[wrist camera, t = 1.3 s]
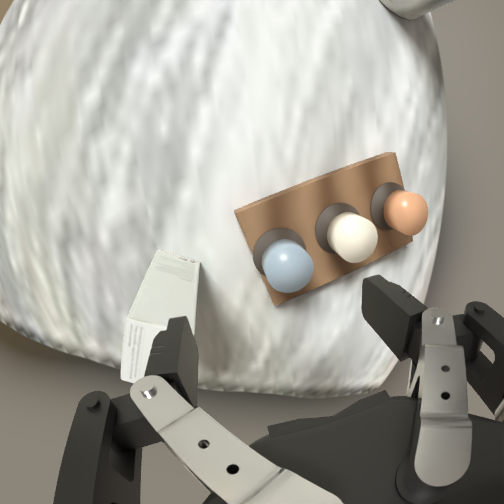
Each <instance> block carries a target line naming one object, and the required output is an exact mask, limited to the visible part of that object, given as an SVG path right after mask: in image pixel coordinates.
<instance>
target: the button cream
mask: <svg viewBox="0 0 504 504" xmlns="http://www.w3.org/2000/svg"><path fill="white" fill-rule="evenodd" d="M327 240H328V243H329V245H330V247H331V248H332V249H333V250H334V251H335V252H336V253H337V254H339V255H340V256H341V257H342V258H343V259H344V260H346V261H348V262H350V263H359V262H362V261H364V260H366V259H367V258H368V257H369V256H370V255H371V254H372V253H373V251H374V250H375V247H376V245H377V240H378V234H377V230H376V227H375V226H374V224H373V223H372V222H371V221H369V220H367V219H365V218H363V217H361V216H359V215H357V214H355V213H352V212H345V213H341V214H339V215H338V216H336V217H335V218H334V219H333V220H332V222H331V223H330V225H329V227H328V231H327Z"/></svg>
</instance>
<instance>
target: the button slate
mask: <svg viewBox="0 0 504 504" xmlns="http://www.w3.org/2000/svg"><path fill="white" fill-rule="evenodd" d="M262 267H263V270H264V272H265V275H266V277H267V280H268V282H269V284H270V285H271V286H272V287H273V288H274V289H275V290H277V291H280V292H283V293H292V292H296V291H298V290H300V289H302V288H303V287H305V286H306V285H307V284H308V282H309V281H310V279H311V278H312V275H313V271H314V264H313V261H312V258H311V257H310V255H309V254H308V253H307V252H306V251H305V250H304V249H303V248H302V246H301V245H300V244H299V243H297V242H296V241H294V240H291V239H280V240H277V241H275V242H273V243H272V244H270V245H269V246H268V247H267V248H266V250H265V251H264V253H263V256H262Z"/></svg>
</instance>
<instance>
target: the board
mask: <svg viewBox="0 0 504 504" xmlns="http://www.w3.org/2000/svg"><path fill="white" fill-rule="evenodd" d="M396 190H404V186H403V182H402V177H401V173H400V169H399V165H398V161H397V157H396V153H392V152H386V153H383V154H380V155H377V156H374V157H372V158H369V159H366V160H363V161H360V162H357V163H354V164H352V165H349V166H346V167H343V168H341V169H338V170H335V171H332V172H330V173H327V174H324V175H322V176H319V177H316V178H314V179H311V180H308V181H306V182H303V183H301V184H298V185H295V186H293V187H290V188H288V189H285V190H283V191H280V192H278V193H275V194H273V195H270V196H268V197H265V198H263V199H260V200H258V201H256V202H253V203H251V204H248V205H246V206H244V207H241V208H239V209H236V210H234V212H235V215H236V217H237V220H238V222H239V224H240V227H241V229H242V231H243V234H244V236H245V238H246V241H247V243H248V245H249V248H250V250H251V252H252V255H253V260H254V263H255V266H256V268H257V269H258V271H259V272H260V273H261V275H262V278H263V280H264V282H265V285H266V287H267V289H268V292H269V294H270V296H271V299H272V301H273V303H274V306H276V305H278V304H281V303H283V302H285V301H288V300H290V299H292V298H295V297H297V296H299V295H302V294H304V293H306V292H308V291H311V290H313V289H315V288H317V287H320V286H322V285H324V284H326V283H328V282H331V281H333V280H335V279H337V278H339V277H341V276H344V275H346V274H348V273H350V272H352V271H354V270H356V269H358V268H360V267H363V266H365V265H367V264H369V263H371V262H373V261H375V260H377V259H379V258H381V257H383V256H385V255H387V254H389V253H391V252H393V251H395V250H397V249H399V248H401V247H402V246H404V245H406V244H408V243H410V242H412V241H413V238H412V236H408V235H405V234H403V233H401V232H399V231H397V230H395V229H393V228H391V227H390V226H389V225H388V224H387V223H386V221H385V218H384V205H385V202H386V200H387V198H388V196H389V195H390V194H391V193H392V192H394V191H396ZM404 191H405V190H404ZM345 212H352V213H355V214H357V215H359V216H361V217H363V218H365V219H367V220H369V221H371V222H372V223H373V224H374V226H375V227H376V230H377V234H378V240H377V245H376V247H375V250H374V251H373V253H372V254H371V255H370V256H369V257H368V258H367V259H366V260H364V261H362V262H359V263H350V262H348V261H346V260H344V259H343V258H342V257H341V256H340V255H339V254H337V253H336V252H335V251H334V250H333V249H332V248H331V247H330V245H329V243H328V240H327V231H328V227H329V225H330V223H331V222H332V220H333V219H334V218H335V217H336V216H338V215H339V214H341V213H345ZM280 239H291V240H294V241H296V242H297V243H299V244H300V245H301V246H302V248H303V249H304V250H305V251H306V252H307V253H308V254H309V255H310V257H311V258H312V261H313V264H314V271H313V275H312V278H311V279H310V281H309V282H308V284H307V285H306V286H305V287H303V288H302V289H300V290H298V291H296V292H292V293H283V292H280V291H277V290H275V289H274V288H273V287H272V286H271V285H270V284H269V282H268V280H267V277H266V275H265V272H264V270H263V267H262V256H263V253H264V251H265V250H266V248H267V247H268V246H269V245H270V244H272V243H273V242H275V241H277V240H280Z"/></svg>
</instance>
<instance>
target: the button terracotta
mask: <svg viewBox="0 0 504 504" xmlns="http://www.w3.org/2000/svg"><path fill="white" fill-rule="evenodd" d="M427 217H428V207H427V203H426V201H425V200H424V198H423V197H422V196H420V195H418V194H415V193H411V192H407V191H404V190H396V191H394V192H392V193H391V194H390V195H389V196H388V198H387V200H386V202H385V205H384V218H385V221H386V223H387V224H388V225H389V226H390V227H391V228H393V229H395V230H397V231H399V232H401V233H403V234H405V235H408V236H413V235H416V234H418V233H419V232H420V231H421V230H422V229H423V227H424V226H425V224H426V221H427Z"/></svg>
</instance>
